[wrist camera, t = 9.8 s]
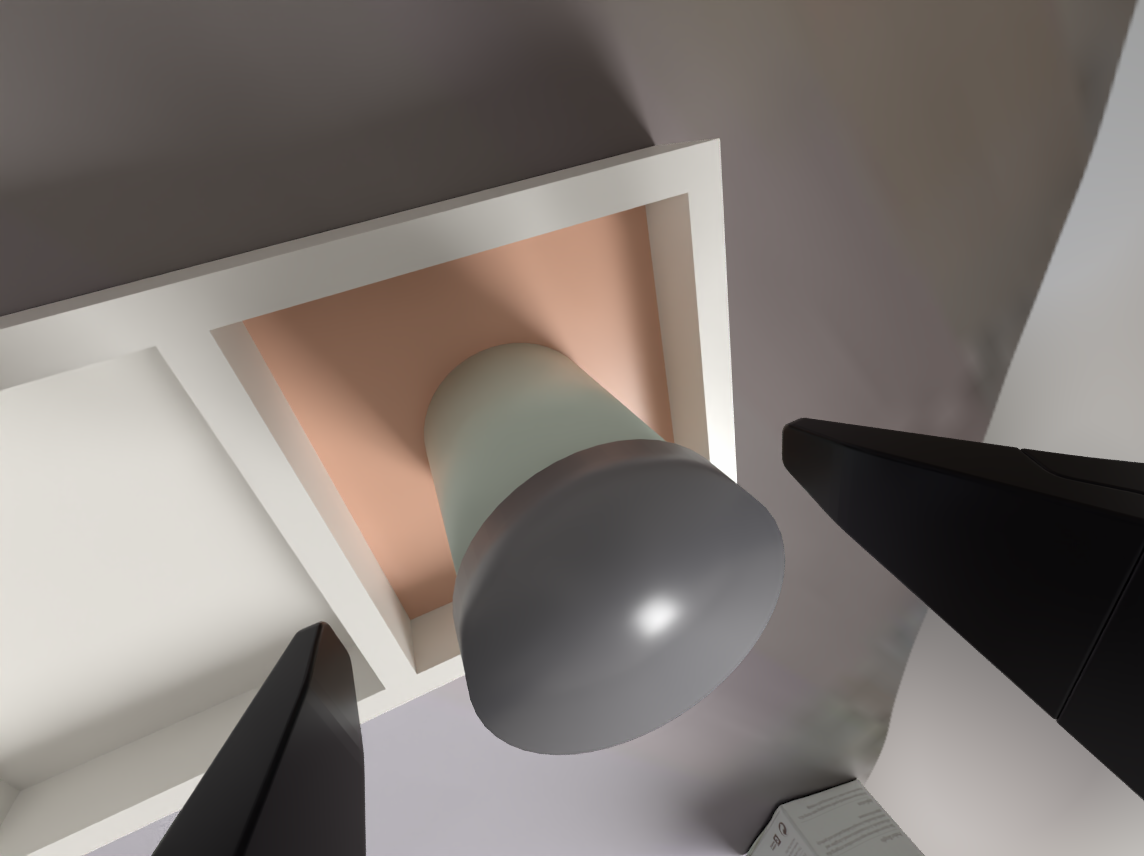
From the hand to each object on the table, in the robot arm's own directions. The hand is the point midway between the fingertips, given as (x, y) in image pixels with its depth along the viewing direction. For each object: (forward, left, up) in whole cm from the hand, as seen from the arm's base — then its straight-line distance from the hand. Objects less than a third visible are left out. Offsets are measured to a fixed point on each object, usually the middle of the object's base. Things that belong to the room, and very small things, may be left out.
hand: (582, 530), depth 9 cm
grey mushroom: (0, 0, -5) cm, 5 cm away
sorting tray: (-5, 0, -5) cm, 7 cm away
